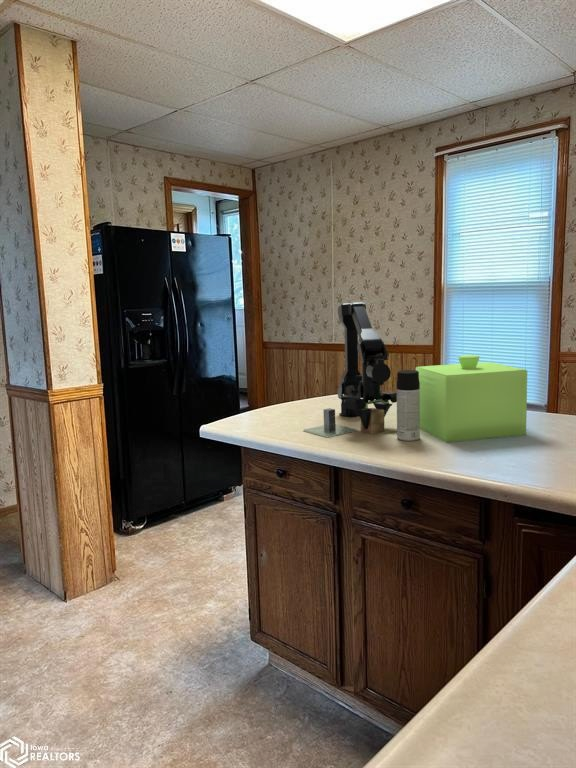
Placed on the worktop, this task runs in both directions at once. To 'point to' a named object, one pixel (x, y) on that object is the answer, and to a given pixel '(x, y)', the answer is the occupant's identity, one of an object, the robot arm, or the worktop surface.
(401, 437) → the spray can
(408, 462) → the worktop surface
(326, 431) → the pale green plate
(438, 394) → the canister
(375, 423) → the brown shipping carton
